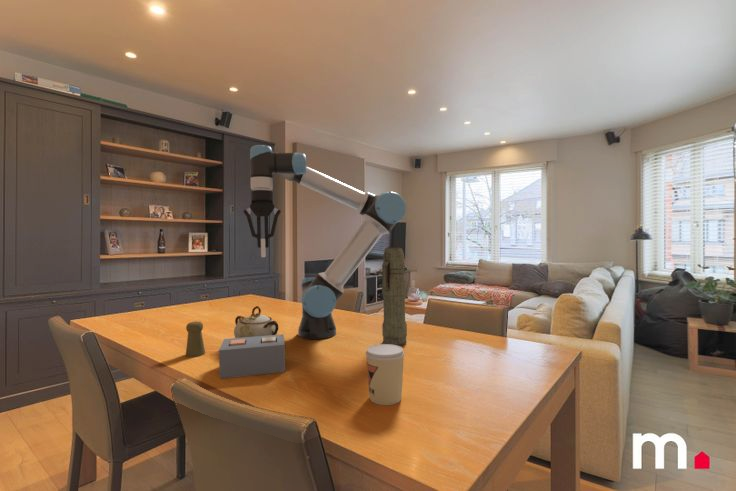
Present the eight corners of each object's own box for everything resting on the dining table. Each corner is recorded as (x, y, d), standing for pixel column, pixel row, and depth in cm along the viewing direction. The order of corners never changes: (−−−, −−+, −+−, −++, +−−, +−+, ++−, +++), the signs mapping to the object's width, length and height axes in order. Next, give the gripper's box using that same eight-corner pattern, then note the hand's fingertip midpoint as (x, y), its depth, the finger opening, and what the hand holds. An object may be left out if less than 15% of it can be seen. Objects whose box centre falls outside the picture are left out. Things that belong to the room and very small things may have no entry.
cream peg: (276, 362, 117) (275, 336, 117) (276, 366, 113) (275, 340, 113) (262, 363, 116) (262, 337, 116) (262, 367, 112) (261, 341, 112)
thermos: (375, 344, 135) (374, 247, 134) (391, 336, 145) (390, 246, 144) (397, 348, 131) (396, 248, 130) (412, 340, 141) (411, 246, 140)
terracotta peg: (245, 365, 115) (245, 339, 114) (244, 369, 111) (244, 342, 111) (231, 366, 114) (231, 340, 113) (230, 370, 110) (229, 343, 110)
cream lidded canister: (364, 391, 95) (364, 344, 95) (401, 389, 96) (400, 342, 96) (368, 407, 86) (367, 356, 86) (408, 405, 87) (407, 354, 87)
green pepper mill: (197, 357, 124) (196, 324, 124) (181, 356, 125) (180, 323, 125) (208, 351, 130) (208, 320, 130) (193, 351, 131) (192, 319, 131)
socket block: (283, 358, 121) (283, 334, 121) (285, 371, 110) (284, 344, 110) (224, 364, 117) (224, 338, 117) (219, 378, 105) (218, 350, 105)
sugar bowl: (292, 345, 136) (291, 304, 135) (263, 358, 123) (262, 312, 122) (251, 339, 145) (250, 300, 144) (220, 350, 131) (219, 308, 131)
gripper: (280, 191, 138) (281, 255, 139) (243, 191, 135) (244, 257, 135) (281, 189, 131) (282, 257, 131) (241, 188, 128) (243, 258, 128)
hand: (263, 256), depth 133 cm, fingers closed
